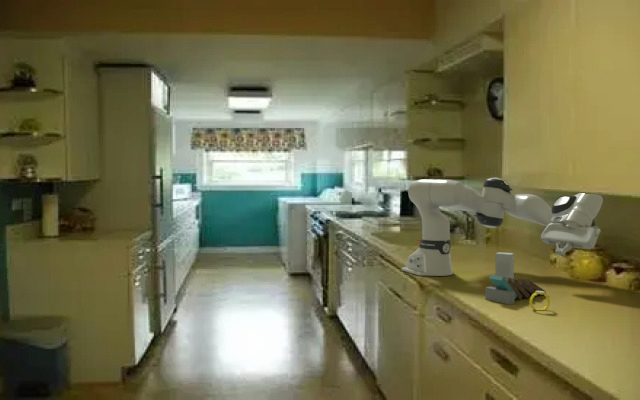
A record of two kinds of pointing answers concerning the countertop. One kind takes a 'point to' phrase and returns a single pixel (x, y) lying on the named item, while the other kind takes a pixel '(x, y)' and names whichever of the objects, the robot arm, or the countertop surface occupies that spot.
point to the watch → (540, 294)
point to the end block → (500, 295)
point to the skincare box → (504, 264)
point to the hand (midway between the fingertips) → (559, 253)
